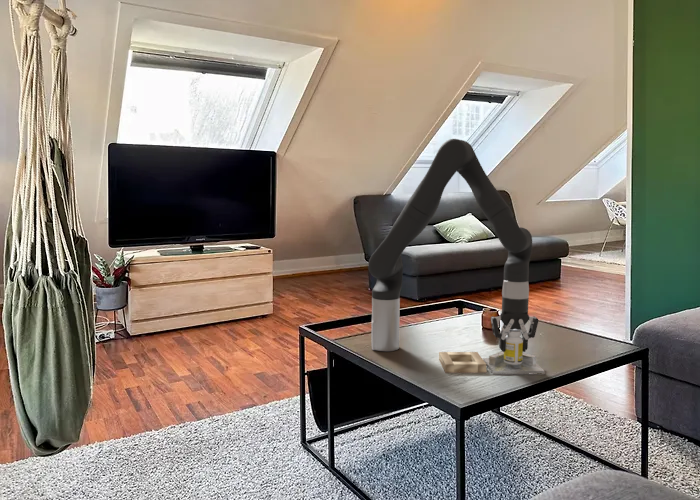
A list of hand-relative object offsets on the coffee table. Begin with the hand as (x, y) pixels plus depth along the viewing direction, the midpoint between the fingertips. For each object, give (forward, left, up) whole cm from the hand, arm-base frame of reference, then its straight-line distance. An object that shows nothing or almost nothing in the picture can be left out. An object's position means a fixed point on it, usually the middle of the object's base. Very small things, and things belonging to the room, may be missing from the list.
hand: (513, 350), depth 169 cm
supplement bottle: (0, 0, -4) cm, 4 cm away
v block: (0, 0, -5) cm, 5 cm away
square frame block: (-15, +2, -5) cm, 16 cm away
